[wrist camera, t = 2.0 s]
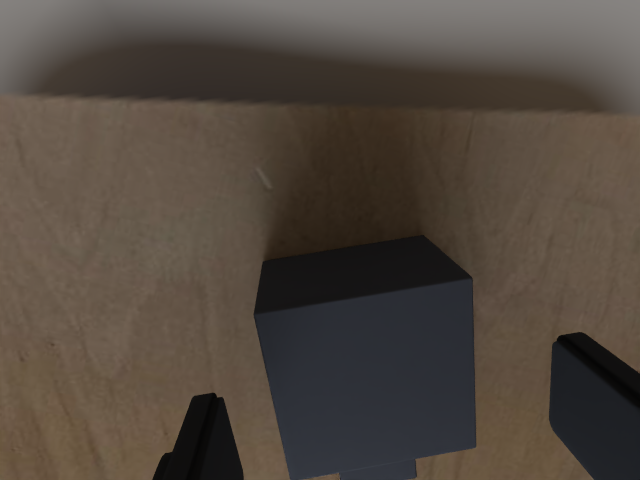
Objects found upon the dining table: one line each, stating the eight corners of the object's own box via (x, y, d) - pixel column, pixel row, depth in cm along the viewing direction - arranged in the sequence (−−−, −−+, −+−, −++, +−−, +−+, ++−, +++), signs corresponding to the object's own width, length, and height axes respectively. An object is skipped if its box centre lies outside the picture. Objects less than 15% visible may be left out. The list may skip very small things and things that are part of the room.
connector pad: (302, 456, 17) (306, 555, 13) (262, 260, 14) (253, 313, 10) (436, 432, 17) (478, 522, 13) (423, 234, 14) (473, 277, 10)
